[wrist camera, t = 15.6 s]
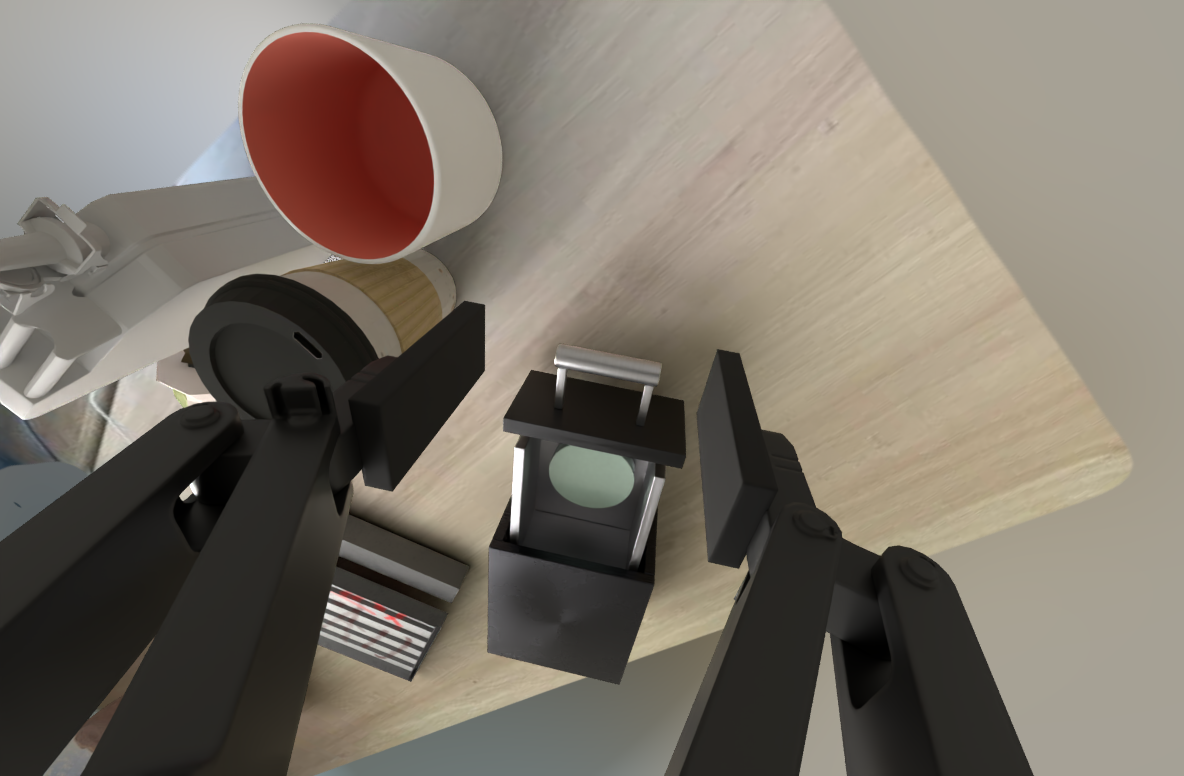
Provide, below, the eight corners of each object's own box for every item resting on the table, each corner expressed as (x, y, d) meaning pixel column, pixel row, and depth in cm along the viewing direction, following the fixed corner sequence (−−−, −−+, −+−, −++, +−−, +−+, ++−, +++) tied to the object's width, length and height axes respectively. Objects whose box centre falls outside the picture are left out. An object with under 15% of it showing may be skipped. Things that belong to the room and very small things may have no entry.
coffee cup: (336, 272, 35) (145, 357, 22) (409, 192, 31) (226, 240, 18) (426, 363, 38) (303, 483, 26) (504, 302, 34) (403, 408, 21)
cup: (453, 256, 33) (376, 302, 24) (339, 147, 30) (208, 157, 22) (539, 149, 28) (481, 160, 20) (413, 10, 25) (284, -47, 17)
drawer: (535, 312, 33) (505, 353, 27) (700, 344, 32) (706, 393, 26) (521, 502, 44) (498, 560, 38) (645, 530, 43) (641, 593, 37)
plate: (643, 436, 36) (642, 453, 34) (628, 498, 40) (625, 516, 38) (558, 418, 36) (552, 434, 35) (551, 481, 40) (545, 498, 38)
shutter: (432, 634, 73) (474, 554, 53) (412, 682, 68) (450, 613, 48) (237, 566, 68) (203, 452, 49) (199, 612, 63) (143, 504, 43)
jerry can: (331, 142, 30) (-491, 185, 9) (383, 208, 32) (-195, 376, 11) (222, 259, 36) (-415, 450, 15) (272, 309, 38) (-237, 543, 17)
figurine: (165, 309, 38) (190, 426, 46) (109, 362, 32) (149, 484, 41) (283, 333, 41) (285, 439, 49) (250, 385, 35) (259, 494, 44)
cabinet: (520, 474, 43) (488, 547, 36) (657, 504, 42) (654, 585, 35) (513, 577, 52) (487, 652, 45) (627, 603, 51) (619, 685, 44)
